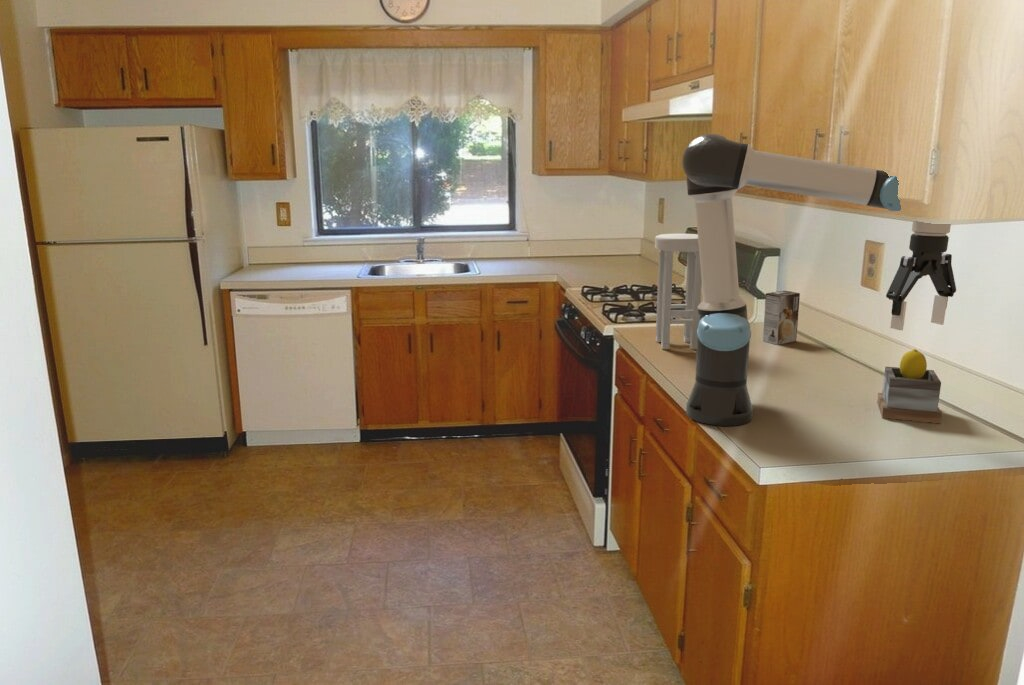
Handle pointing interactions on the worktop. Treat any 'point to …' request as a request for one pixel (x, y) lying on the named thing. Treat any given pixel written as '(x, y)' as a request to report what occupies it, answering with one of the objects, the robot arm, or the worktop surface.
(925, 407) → the planter box
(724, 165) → the robot arm
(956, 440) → the worktop surface
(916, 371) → the lemon
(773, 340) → the coffee box
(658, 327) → the stool
